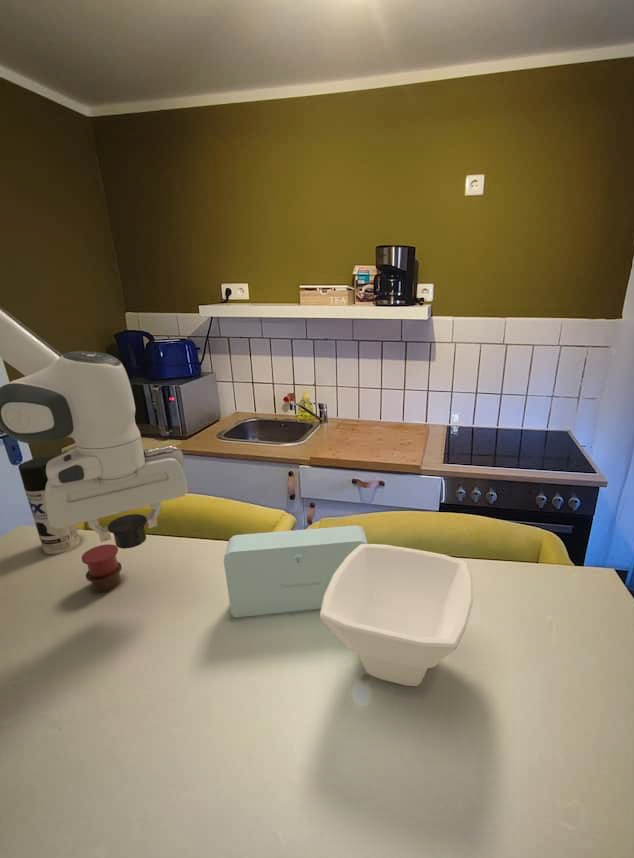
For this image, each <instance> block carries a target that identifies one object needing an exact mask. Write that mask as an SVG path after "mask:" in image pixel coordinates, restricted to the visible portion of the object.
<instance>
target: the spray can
mask: <svg viewBox="0 0 634 858" xmlns="http://www.w3.org/2000/svg"><path fill="white" fill-rule="evenodd" d="M53 458H56V457H55V456H40V457H35V458H32V459H29V460H27V461H23V462H22V463H20V464H18V467H17V468H18V471H19V474H20V478H21V482H22V485H23V488H24V493H25V495H26V498H27V502H28V504H29V508H30V511H31V514H32V517H33V521H34V525H35V527H36V531H37V534H38V538H39V540H40V542H41V547H42V550H43V552H44V553H45V554H48V555H57V554H62V553H66V552H68V551H70V550H72V549H75V548H76V547H77V546H78V545H79V543H80V542H81V541H80V536H79V531H78V528H77V524H76V525H72V526H68V527H64V528H60V529H56V528H54V527H52V526H50V525H49V521H48V516H47V510H46V499H45V487H46V483H47V481H48V478H47V475H46V466H47V463H48V461H50V460H51V459H53Z"/></svg>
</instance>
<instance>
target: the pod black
mask: <svg viewBox="0 0 634 858" xmlns="http://www.w3.org/2000/svg"><path fill="white" fill-rule="evenodd" d="M145 516H146V515H143V514H138V513H137V514H136V513H134V514H127V515H123V516H120V517H117V518H114V519H112V521H110V522H109V523H108V525H107V526H108V530H109V532H110V534H113V537H114V542H115V546H117V548H118V549H132V548H135V547H138V546H140V545H142V544H143V543H144V542H146V540H147V534H146V529H145V525H147V524H146V522H147V519H146V517H145Z"/></svg>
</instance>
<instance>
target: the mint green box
mask: <svg viewBox="0 0 634 858" xmlns="http://www.w3.org/2000/svg"><path fill="white" fill-rule="evenodd" d="M360 544H369V543H368V539H367V536H366V533H365V529H364V528H363V527H362V526H360V525H356V524H355V525H345V526H344V525H343V526H331V527H319V528H306V529H296V530H295V529H292V530H282V531H281V530H280V531H271V532H270V531H268V532H260V533H259V532H255V533H243V534H235V535H233V536H231V537H230V538H229V540H228V543H227V546H226V550H225V554H224V558H223V566H224V573H225V579H226V586H227V594H228V599H229V601H228V602H229V608H230V613H231V615H232V617H233V618H244V617H253V616H263V615H272V614H283V613H291V612H292V613H293V612H300V611H308V610H321V607H322V602H323V597H324V594H325V592H326V590H327V588H328V585H329V583H330V581H331V579H332V577H333V574H334V573H335V572H336V570H337V569H338V568H339V566H340V565H341V564H342V562H343V561H344V560H345V558H346V557H347V556H348V555H349V554H350V553H351V552H352V551H354V550H355V549H356V548H357V547H358V546H359V545H360Z"/></svg>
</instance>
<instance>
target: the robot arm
mask: <svg viewBox="0 0 634 858" xmlns="http://www.w3.org/2000/svg"><path fill="white" fill-rule="evenodd" d="M0 359H2V360H3V361H4V362H6V363H7V364H8V365H10V366H11V367H12V368H14V369H15V370H17V372H19V373H21V374H22V375H23V377H19V378H17V379H14V380H11V381H10V382H8V383H5V384H4V385H2V386H0V430H2V432H4V433H5V435H7V436H8V437H10V438H12V439H13V440H15V441H18V442H20V443H24V444H31V445H34V444H40V443H49V442H53V441H58V440H62V439H64V438H71V439H73V440H74V443H75V447H76V448H73V449H71V450H69V451H67V452H64V453H63V454H60V455H58V456H56V457H55V458H53V459H51V460H50V461H48V463H47V466H46V475H47V478H48V481H47V483H46V487H45V499H46V510H47V516H48V521H49V525H50V526H52V527H54V528H56V529H60V528H64V527H68V526H72V525H76V526H77V525H80V524H82V523H83V524H84V523H87V525H88V528H90V529H91V530H92V531H94V532H95V533H96V534H98V536H99V540H100V543H103V542H107V541H110V540H112V537H111V532H109V530H108V525H106V526H103V527H102V526H101V525H100V522H99V519H102V518H106V517H110V516H114V515H118V514H121V513H126V512H129V511H133V510H138V509H140V508H145V507H151V509H150V510H151V511H150V512H149V514H148V515H144V516H145V517H146V519H147V522H146V524H145V525H146V527H147V529H152V528H155V527H156V528H157V527H158V519H157V518H158V516H159V514H160V512H161V509H162V503H164V502H168V501H171V500H176V499H179V498H183V497H186V494H187V493H188V491H189V488H188V483H187V480H186V476H185V473H184V470H183V466H184V465H185V460H184V453H183V451H182V450H181V449H180V448H178V447H175V446H173V445H166V446H162V447H156V448H150V449H144V445H143V440H142V435H141V432H140V429H139V427H138V425H137V423H136V417H135V416H136V409H137V408H136V404H135V403H136V402H135V398H134V394H133V389H132V385H131V383H130V379H129V376H128V373H127V371H126V368H125V366H124V365H123V363H122V361H120V360H119V359H118V358H117V357H115V356H113V355H112V354H108V353H104V352H99V351H90V350H87V351H86V350H85V351H83V350H78V351H69V352H65V353H63V354H62V353H61V352H59V351H58V350H57V349H56V348H55V347H53V346H52V345H50V344H49V343H48V342H47V341H45V340H44V339H43V338H42V337H40V336H39V335H38V334H36V333H35V332H34V331H33V330H31V329H30V328H29V327H28V326H26V325H25V324H24V323H22V322H21V321H20V320H19V319H17V318H16V317H15V316H14V315H12V314H11V313H10V312H9V311H7V310H6V309H4V308H3V307H2V306H0Z"/></svg>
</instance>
